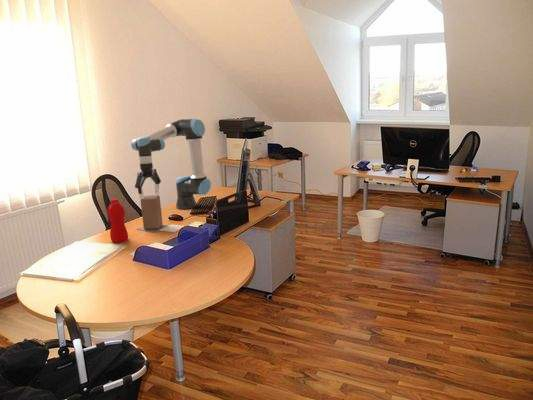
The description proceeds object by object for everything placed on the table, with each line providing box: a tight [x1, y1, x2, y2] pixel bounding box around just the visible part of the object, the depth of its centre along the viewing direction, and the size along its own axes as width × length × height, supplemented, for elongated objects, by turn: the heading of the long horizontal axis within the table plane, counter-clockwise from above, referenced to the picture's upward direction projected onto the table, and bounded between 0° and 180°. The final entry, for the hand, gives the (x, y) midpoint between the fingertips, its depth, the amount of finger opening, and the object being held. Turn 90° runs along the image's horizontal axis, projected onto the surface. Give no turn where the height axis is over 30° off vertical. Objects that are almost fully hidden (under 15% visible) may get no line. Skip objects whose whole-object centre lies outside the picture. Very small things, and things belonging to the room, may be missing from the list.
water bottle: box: [106, 198, 129, 244], centre depth 259 cm, size 9×11×25 cm
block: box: [140, 194, 164, 230], centre depth 281 cm, size 10×10×20 cm
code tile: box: [137, 224, 169, 233], centre depth 284 cm, size 14×14×1 cm
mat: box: [159, 224, 185, 233], centre depth 280 cm, size 12×12×1 cm
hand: (149, 196), depth 279 cm, fingers open, 13 cm apart
